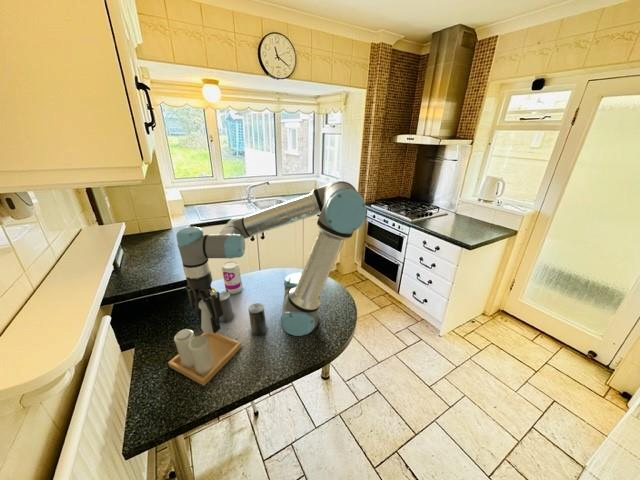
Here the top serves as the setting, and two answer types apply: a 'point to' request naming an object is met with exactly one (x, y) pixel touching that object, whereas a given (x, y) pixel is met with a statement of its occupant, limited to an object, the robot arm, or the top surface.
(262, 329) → the grey canister near
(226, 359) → the tray
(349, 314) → the top surface
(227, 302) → the grey canister far
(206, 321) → the salt shaker
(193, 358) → the white shaker
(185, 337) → the white shaker
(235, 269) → the supplement can
